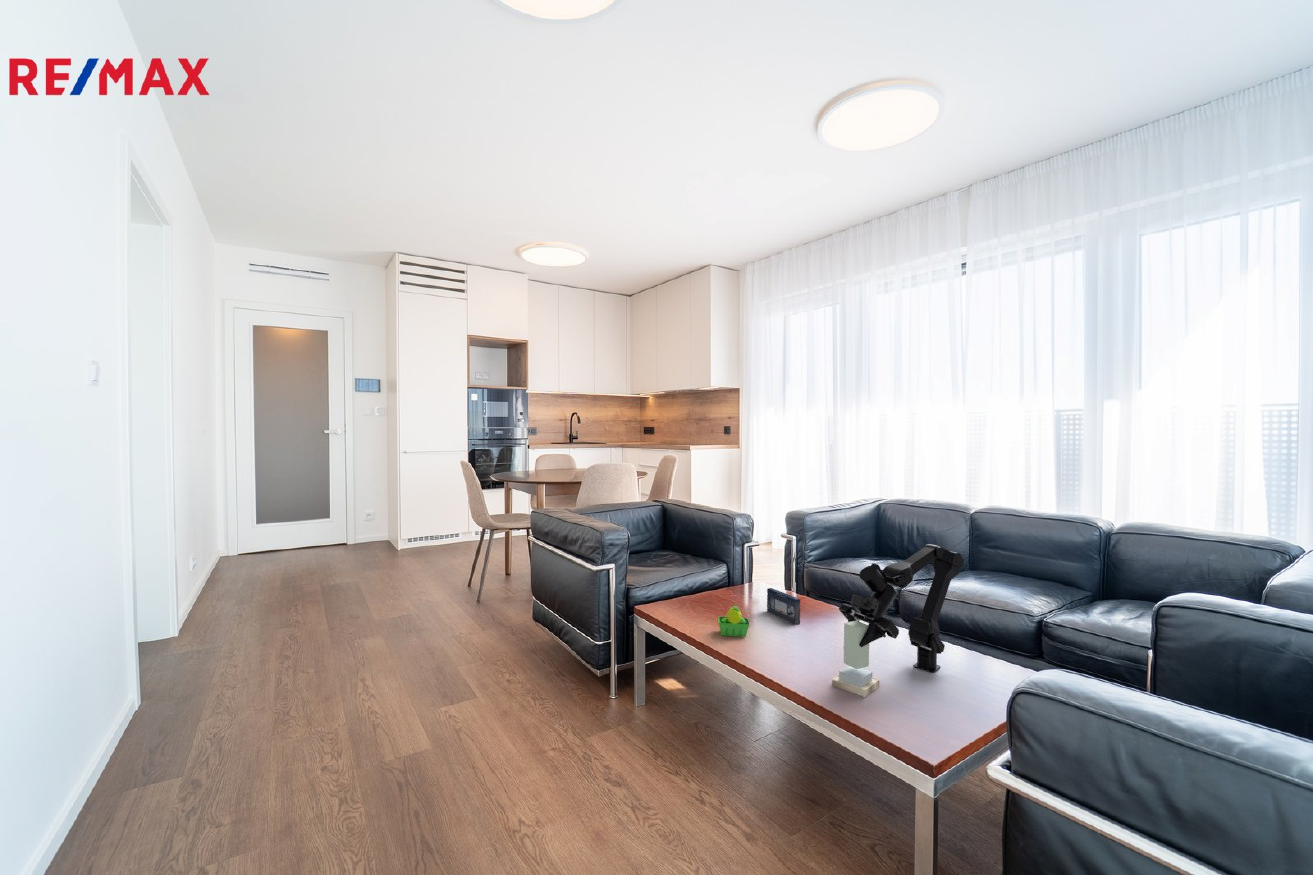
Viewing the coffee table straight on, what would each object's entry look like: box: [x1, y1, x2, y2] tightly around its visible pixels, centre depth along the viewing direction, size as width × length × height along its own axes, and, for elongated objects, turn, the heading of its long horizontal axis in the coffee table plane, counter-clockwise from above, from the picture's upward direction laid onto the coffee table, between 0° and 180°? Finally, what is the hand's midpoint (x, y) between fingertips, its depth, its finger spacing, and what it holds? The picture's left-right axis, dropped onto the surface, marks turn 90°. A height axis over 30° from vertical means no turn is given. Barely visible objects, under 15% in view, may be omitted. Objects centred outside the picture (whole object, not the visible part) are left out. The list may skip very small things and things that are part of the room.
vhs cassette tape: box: [766, 587, 801, 625], centre depth 227 cm, size 18×3×10 cm, turn 25°
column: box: [843, 621, 870, 669], centre depth 165 cm, size 5×5×12 cm
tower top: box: [838, 665, 873, 687], centre depth 165 cm, size 7×7×2 cm
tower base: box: [831, 674, 880, 698], centre depth 165 cm, size 10×10×2 cm
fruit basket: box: [717, 605, 750, 638], centre depth 207 cm, size 11×9×11 cm
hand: (853, 643), depth 165 cm, fingers closed on column, 5 cm apart
